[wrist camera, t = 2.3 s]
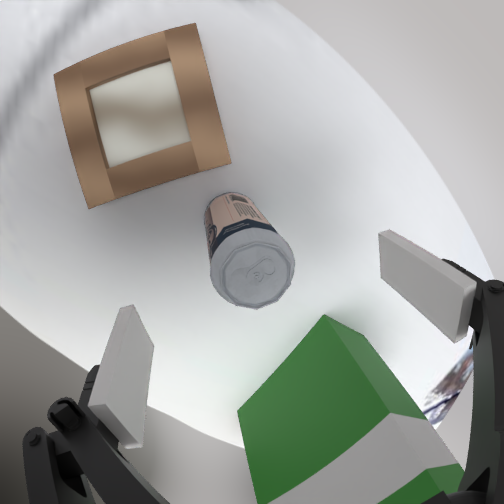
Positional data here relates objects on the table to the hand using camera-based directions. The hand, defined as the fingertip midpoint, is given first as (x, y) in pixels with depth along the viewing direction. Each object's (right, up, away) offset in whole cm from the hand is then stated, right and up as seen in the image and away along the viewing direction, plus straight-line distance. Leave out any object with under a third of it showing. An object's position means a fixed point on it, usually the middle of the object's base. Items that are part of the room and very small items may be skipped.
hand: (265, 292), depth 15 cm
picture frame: (-10, +13, +7) cm, 18 cm away
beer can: (-3, +5, +12) cm, 14 cm away
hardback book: (+5, -14, +21) cm, 26 cm away
